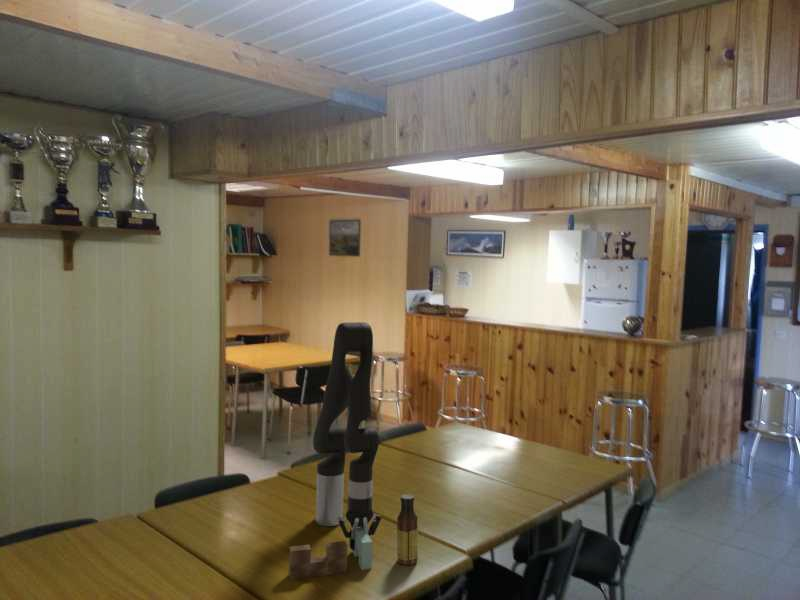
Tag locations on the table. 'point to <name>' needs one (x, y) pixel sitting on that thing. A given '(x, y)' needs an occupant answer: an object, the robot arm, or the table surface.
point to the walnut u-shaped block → (318, 561)
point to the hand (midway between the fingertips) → (358, 548)
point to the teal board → (363, 548)
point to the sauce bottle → (407, 532)
